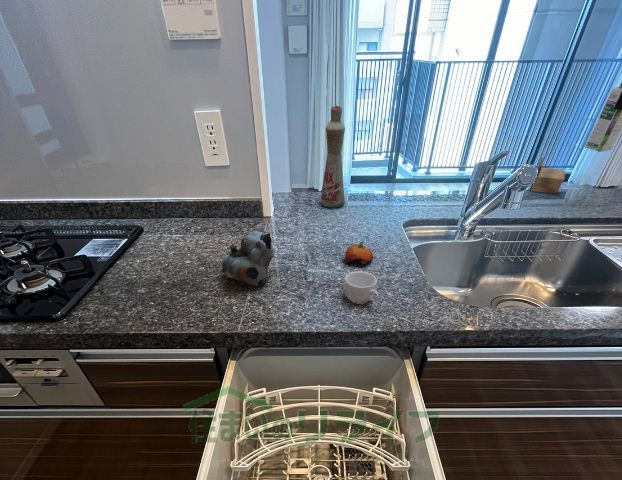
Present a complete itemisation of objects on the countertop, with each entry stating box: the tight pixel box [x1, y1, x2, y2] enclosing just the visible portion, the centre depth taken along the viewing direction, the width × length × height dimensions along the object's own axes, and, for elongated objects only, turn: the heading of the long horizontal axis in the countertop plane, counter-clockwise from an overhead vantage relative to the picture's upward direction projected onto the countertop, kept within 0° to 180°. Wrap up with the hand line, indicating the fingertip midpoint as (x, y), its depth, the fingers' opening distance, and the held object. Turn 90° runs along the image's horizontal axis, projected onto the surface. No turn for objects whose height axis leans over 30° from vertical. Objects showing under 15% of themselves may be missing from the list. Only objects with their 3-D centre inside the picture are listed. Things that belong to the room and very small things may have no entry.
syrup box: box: [584, 86, 622, 153], centre depth 110 cm, size 6×6×14 cm
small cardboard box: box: [530, 157, 566, 195], centre depth 140 cm, size 10×12×8 cm
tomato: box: [344, 241, 374, 266], centre depth 103 cm, size 8×7×7 cm
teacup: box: [344, 270, 380, 305], centre depth 89 cm, size 10×8×5 cm
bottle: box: [320, 104, 346, 209], centre depth 122 cm, size 9×9×28 cm
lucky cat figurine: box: [220, 230, 275, 287], centre depth 95 cm, size 15×12×14 cm
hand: (618, 106), depth 108 cm, fingers closed on syrup box, 8 cm apart
